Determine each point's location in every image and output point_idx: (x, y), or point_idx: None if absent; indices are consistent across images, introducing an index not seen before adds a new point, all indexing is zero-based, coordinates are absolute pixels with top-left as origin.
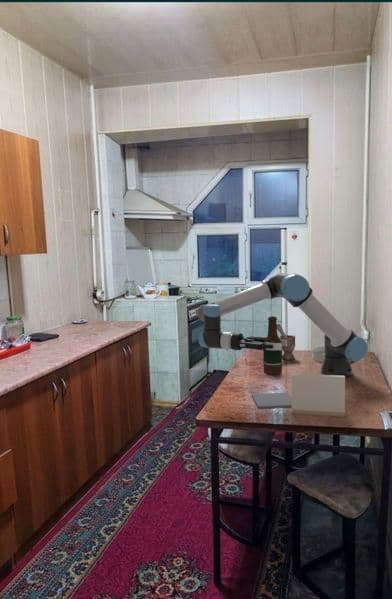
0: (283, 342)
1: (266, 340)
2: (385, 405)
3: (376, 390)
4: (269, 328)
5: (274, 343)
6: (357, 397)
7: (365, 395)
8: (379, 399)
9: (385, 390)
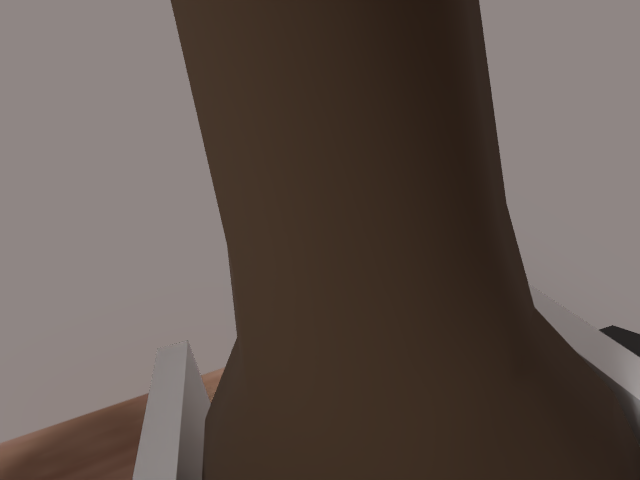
0: (199, 411)
1: (612, 452)
2: (201, 376)
3: (15, 461)
4: (476, 57)
5: (554, 301)
6: (133, 469)
7: (96, 460)
8: (139, 410)
9: (14, 440)
